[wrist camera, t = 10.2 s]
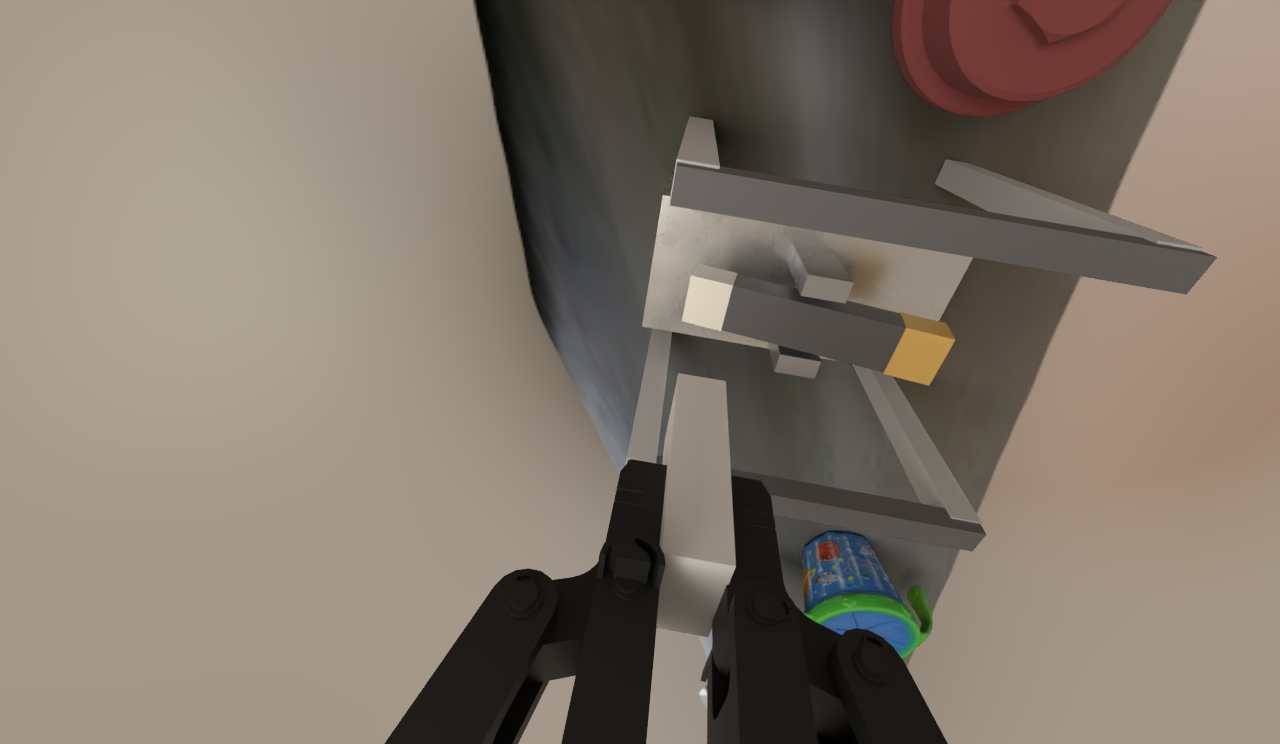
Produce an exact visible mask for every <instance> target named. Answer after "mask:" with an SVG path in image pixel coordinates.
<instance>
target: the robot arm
mask: <svg viewBox="0 0 1280 744" xmlns="http://www.w3.org/2000/svg"><path fill="white" fill-rule="evenodd" d="M656 627H657V628H662V629H667V630H673V631H678V632H683V633H689V634H694V635H699V636H705V637H708V636H709V634H710V631H711V629H712V635H713V647H712V650H711V652H710V655H709V657H708V659H707V662H706V664H705V667H704V669H703V673H702V678H701V681H704V682H705V681H706V680H707V678H708V714H707V717H708V720H707V721H708V722H707V727H708V729H707V732H708V733H707V735H708V736H707V744H948V743H947V742H946V740H945V738H944V736H943V734H942V732H941V730H940V728H939V727H938V725H937V723H936V721H935V719H934V717H933V716H932V713H931V712H930V710H929V708H928V706H927V704H926V702H925V700H924V699H923V697H922V695H921V693H920V691H919V689H918V687H917V685H916V684H915V682H914V680H913V678H912V676H911V674H910V672H909V670H908V669H907V667H906V665H905V663H904V661H903V660H902V658H901V657H900V655H899V654H898V652H897V651H896V650H895V648H894V647H893V646H892V645H891V644H890V643H888V642H887V641H886V640H885V639H884V638H883V637H881V636H879V635H877V634H875V633H873V632H871V631H869V630H866V629H859V628H854V629H851V630H848V631H845V632H844V633H843V635H841V634H839V633H837V632H835V631H833V630H831V629H829V628H827V627H825V626H823V625H821V624H819V623H817V622H815V621H814V620H812V619H810V618H809V617H807V616H806V615H804V614H803V613H802V612H801V611H800V610H799V609H798V608H797V607H796V606H795V605H794V602H793V601H792V600H791V598H790V597H789V596H788V594H787V592H786V590H785V586H784V582H783V576H782V569H781V562H780V556H779V549H778V542H777V535H776V531H775V521H774V517H773V507H772V500H771V496H770V494H769V493H768V491H767V489H766V488H765V486H764V484H763V483H762V481H760V480H755V479H749V478H743V477H738V476H732V475H731V467H730V449H729V431H728V413H727V395H726V381H722V380H716V379H710V378H704V377H698V376H692V375H686V374H680V373H678V378H677V383H676V387H675V392H674V397H673V402H672V407H671V412H670V417H669V422H668V427H667V432H666V436H665V444H664V453H663V462H662V464H657V463H652V462H646V461H640V460H635V459H631V460H630V461H629V462H628V463H627V464H626V465H625V467H624V468H623V469H622V470H621V472H620V476H619V481H618V486H617V491H616V495H615V500H614V505H613V510H612V514H611V519H610V524H609V528H608V533H607V538H606V542H605V543H604V545H603V547H602V549H601V552H600V555H599V561H598V563H597V564H596V565H595V566H594V567H593V568H592V569H591V570H589V571H588V572H586V573H584V574H582V575H579V576H575V577H571V578H564V579H557V580H551V578H550V577H548V576H547V575H546V574H544V573H543V572H541V571H537V570H532V569H522V570H516V571H514V572H512V573H510V574H508V575H506V576H504V577H503V578H502V579H501V580H500V581H499V582H498V583H497V584H496V585H495V586H494V588H493V589H492V590H491V592H490V593H489V595H488V596H487V597H486V599H485V600H484V602H483V603H482V605H481V606H480V607H479V609H478V610H477V612H476V613H475V615H474V616H473V618H472V619H471V621H470V622H469V623H468V625H467V626H466V628H465V629H464V631H463V632H462V633H461V635H460V636H459V638H458V639H457V640H456V642H455V643H454V645H453V646H452V648H451V649H450V651H449V652H448V653H447V655H446V656H445V658H444V659H443V661H442V662H441V664H440V665H439V666H438V668H437V669H436V671H435V672H434V673H433V675H432V676H431V678H430V679H429V681H428V682H427V684H426V685H425V687H424V688H423V689H422V691H421V692H420V694H419V695H418V697H417V698H416V699H415V701H414V702H413V704H412V705H411V706H410V708H409V709H408V711H407V712H406V714H405V715H404V717H403V718H402V719H401V721H400V722H399V724H398V725H397V727H396V728H395V730H394V731H393V732H392V734H391V735H390V737H389V738H388V739H387V741H386V743H385V744H518V743H519V741H520V738H521V737H522V734H523V732H524V730H525V728H526V726H527V724H528V722H529V720H530V718H531V716H532V714H533V712H534V710H535V708H536V706H537V704H538V702H539V700H540V698H541V696H542V694H543V692H544V690H545V688H546V686H547V684H548V682H549V680H554V679H559V678H564V677H569V676H575V675H576V677H575V682H574V687H573V692H572V696H571V702H570V706H569V711H568V715H567V720H566V725H565V730H564V734H563V739H562V744H646V737H647V726H648V715H649V704H650V691H651V680H652V670H653V658H654V647H655V636H656Z"/></svg>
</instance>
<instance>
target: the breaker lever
mask: <svg viewBox="0 0 1280 744" xmlns="http://www.w3.org/2000/svg"><path fill="white" fill-rule="evenodd" d="M682 321H683V322H687V323H691V324H695V325H699V326H703V327H706V328H710V329H714V330H718V331H721V330H722V331H726V332H730V333H734V334H738V335H742V336H745V337H749V338H753V339H757V340H761V341H764V342H768V343H772V344H776V345H780V346H784V347H787V348H791V349H795V350H799V351H803V352H807V353H810V354H814V355H818V356H822V357H826V358H830V359H833V360H837V361H841V362H845V363H849V364H852V365H856V366H860V367H864V368H868V369H872V370H875V371H879V372H883V374H886V375H890V376H894V377H897V378H901V379H905V380H909V381H913V382H916V383H920V384H924V385H928V386H929V385H930V383H931V382H932V380H933V378H934V376H935V375H936V373H937V371H938V369H939V368H940V366H941V364H942V362H943V361H944V359H945V357H946V356H947V354H948V352H949V350H950V349H951V347H952V345H953V343H954V342H955V338H954V336H953V334H952V333H951V331H950V329H949V328H948V326H947V324H946V323H944V322H940V321H936V320H931V319H927V318H923V317H919V316H915V315H910V314H906V313H902V312H900V313H897V312H893V311H889V310H884V309H880V308H876V307H872V306H868V305H864V304H859V303H855V302H851V301H846V303H839V302H834V301H828V300H822V299H817V298H811V297H805V296H801V295H800V293H799V290H798V289H797V288H793V287H788V286H784V285H780V284H776V283H772V282H767V281H763V280H759V279H755V278H751V277H747V276H742V275H738V273H735V272H730V271H726V270H722V269H718V268H714V267H710V266H705V265H701V264H698V265H697V266H696V268H695V270H694V271H693V273H692V275H691V278H690V283H689V288H688V292H687V297H686V302H685V307H684V312H683V316H682Z"/></svg>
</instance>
